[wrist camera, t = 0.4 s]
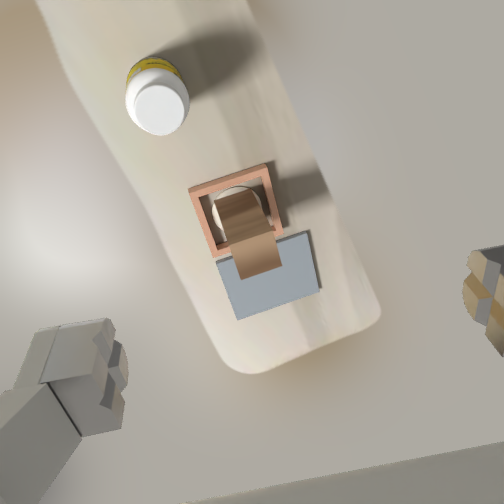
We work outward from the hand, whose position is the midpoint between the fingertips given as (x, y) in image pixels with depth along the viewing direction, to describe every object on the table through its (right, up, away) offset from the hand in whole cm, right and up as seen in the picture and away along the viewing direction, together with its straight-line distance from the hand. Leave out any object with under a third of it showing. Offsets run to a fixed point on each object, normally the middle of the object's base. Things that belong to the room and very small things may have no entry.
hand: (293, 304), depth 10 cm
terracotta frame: (-3, +6, +43) cm, 43 cm away
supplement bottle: (-10, +18, +34) cm, 39 cm away
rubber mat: (+1, -2, +49) cm, 49 cm away
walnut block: (-3, +6, +42) cm, 43 cm away
